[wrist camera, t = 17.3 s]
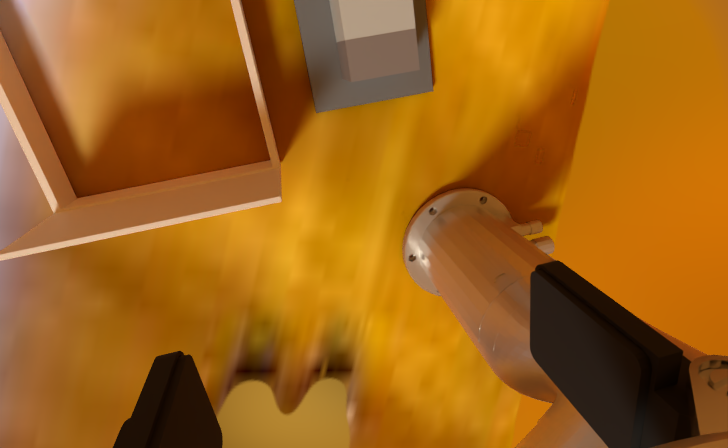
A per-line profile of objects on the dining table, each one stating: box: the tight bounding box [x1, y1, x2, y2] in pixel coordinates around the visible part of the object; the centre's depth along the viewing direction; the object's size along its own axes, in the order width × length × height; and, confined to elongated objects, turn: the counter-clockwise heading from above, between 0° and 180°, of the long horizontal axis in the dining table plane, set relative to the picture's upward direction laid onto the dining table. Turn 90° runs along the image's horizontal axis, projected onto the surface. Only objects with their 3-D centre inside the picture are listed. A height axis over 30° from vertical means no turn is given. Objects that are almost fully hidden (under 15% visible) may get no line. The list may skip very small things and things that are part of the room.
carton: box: [0, 0, 282, 261], centre depth 30 cm, size 19×18×11 cm
